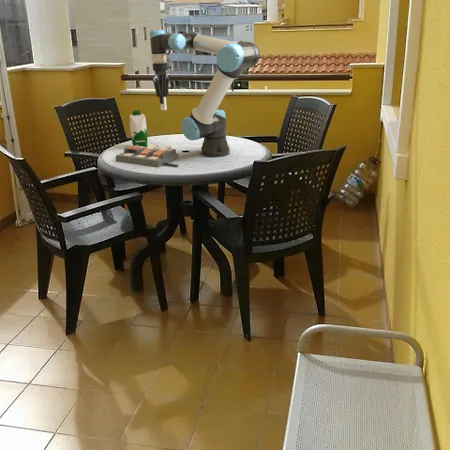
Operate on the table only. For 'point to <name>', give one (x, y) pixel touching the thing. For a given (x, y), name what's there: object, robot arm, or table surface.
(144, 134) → the milk carton
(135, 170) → the table surface
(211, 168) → the table surface
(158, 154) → the rocker
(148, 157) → the power strip
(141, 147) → the rocker
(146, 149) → the middle rocker
